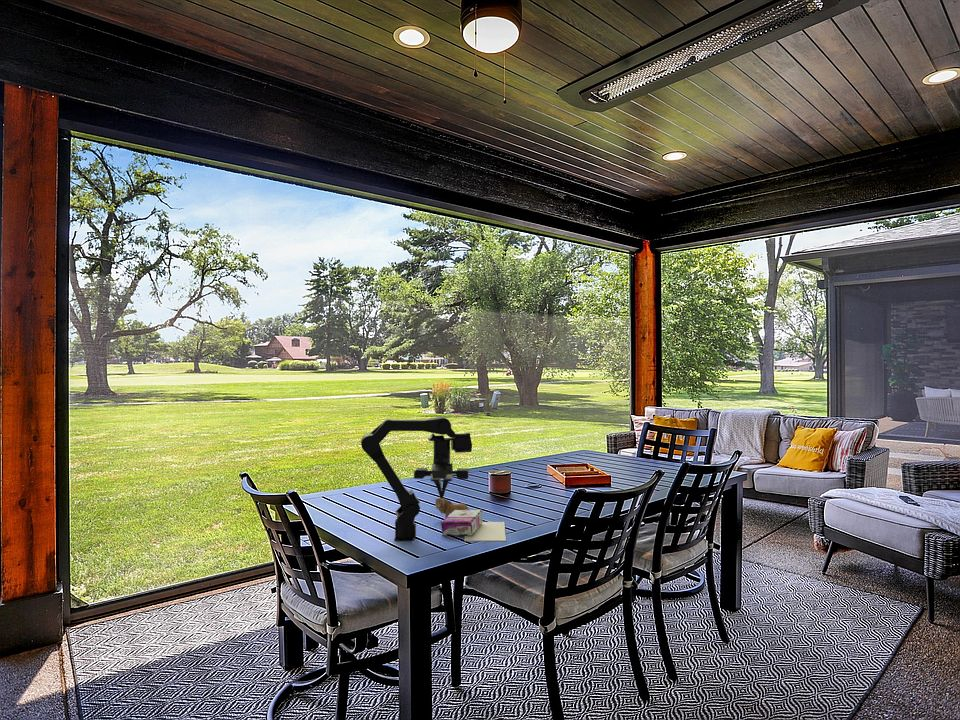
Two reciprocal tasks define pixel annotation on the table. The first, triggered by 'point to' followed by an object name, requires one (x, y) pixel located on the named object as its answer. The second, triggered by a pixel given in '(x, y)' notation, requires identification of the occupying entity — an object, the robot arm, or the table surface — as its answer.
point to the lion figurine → (448, 506)
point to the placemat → (488, 532)
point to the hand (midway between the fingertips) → (441, 498)
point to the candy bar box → (462, 522)
